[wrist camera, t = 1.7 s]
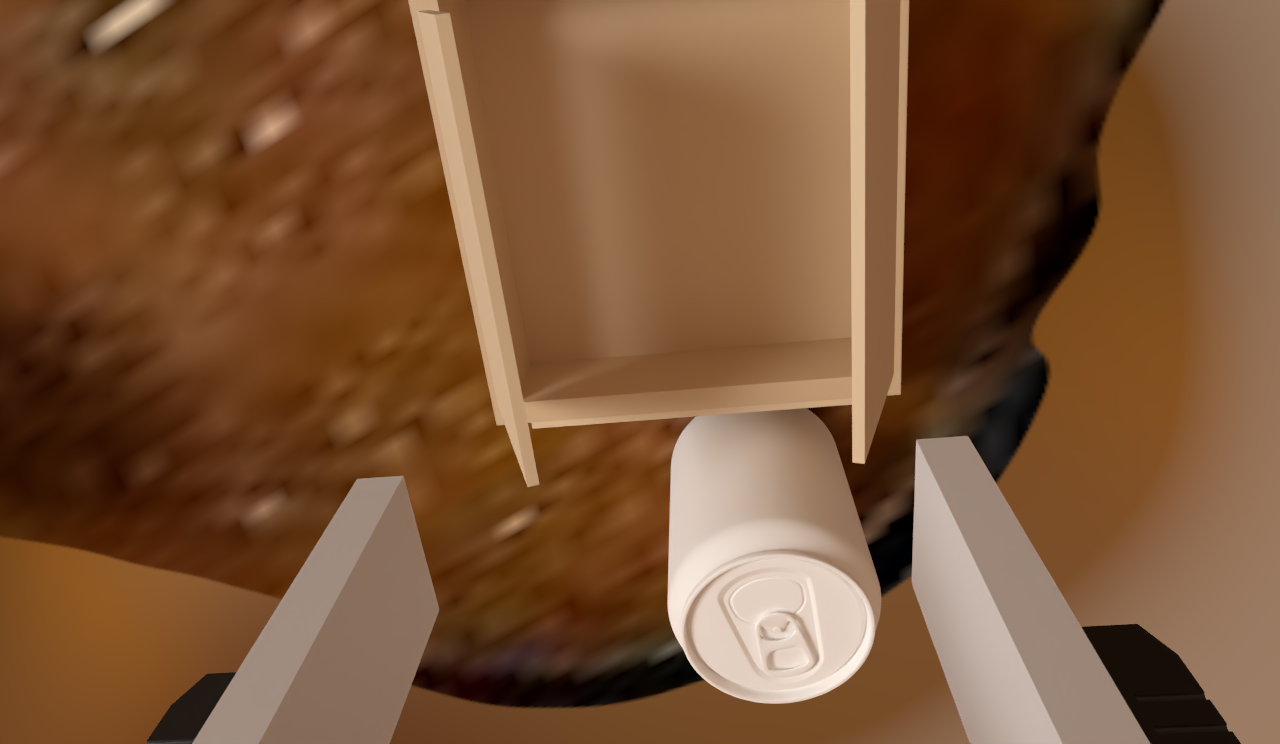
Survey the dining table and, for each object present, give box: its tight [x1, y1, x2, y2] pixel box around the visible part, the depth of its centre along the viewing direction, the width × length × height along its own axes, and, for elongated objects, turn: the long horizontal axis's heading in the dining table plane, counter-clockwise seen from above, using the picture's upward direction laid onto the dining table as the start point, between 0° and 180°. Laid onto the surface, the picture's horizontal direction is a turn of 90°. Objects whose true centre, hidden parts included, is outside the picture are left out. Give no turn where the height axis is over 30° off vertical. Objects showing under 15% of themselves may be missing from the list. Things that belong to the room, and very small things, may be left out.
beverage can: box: [668, 408, 881, 704], centre depth 37 cm, size 8×8×12 cm
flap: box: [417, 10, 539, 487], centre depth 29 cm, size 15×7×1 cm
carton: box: [408, 0, 909, 428], centre depth 34 cm, size 19×17×4 cm
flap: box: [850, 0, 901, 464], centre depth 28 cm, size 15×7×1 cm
